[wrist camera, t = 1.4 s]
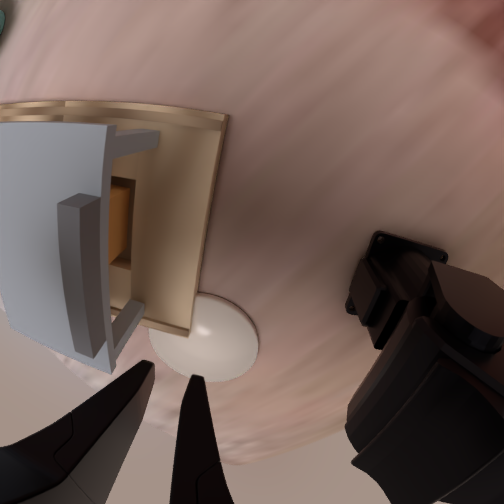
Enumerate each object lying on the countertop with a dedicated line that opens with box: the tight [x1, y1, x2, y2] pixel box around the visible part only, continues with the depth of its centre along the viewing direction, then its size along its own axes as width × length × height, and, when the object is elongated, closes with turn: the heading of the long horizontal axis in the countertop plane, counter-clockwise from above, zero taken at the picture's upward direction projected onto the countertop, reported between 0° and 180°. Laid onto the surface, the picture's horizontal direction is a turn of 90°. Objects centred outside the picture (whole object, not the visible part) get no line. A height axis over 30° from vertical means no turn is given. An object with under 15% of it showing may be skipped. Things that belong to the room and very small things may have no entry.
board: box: [0, 101, 229, 339], centre depth 19 cm, size 27×16×2 cm, turn 78°
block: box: [108, 185, 130, 265], centre depth 17 cm, size 4×4×6 cm
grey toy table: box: [0, 121, 160, 374], centre depth 15 cm, size 9×14×8 cm, turn 168°
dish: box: [149, 293, 259, 382], centre depth 23 cm, size 9×9×1 cm
